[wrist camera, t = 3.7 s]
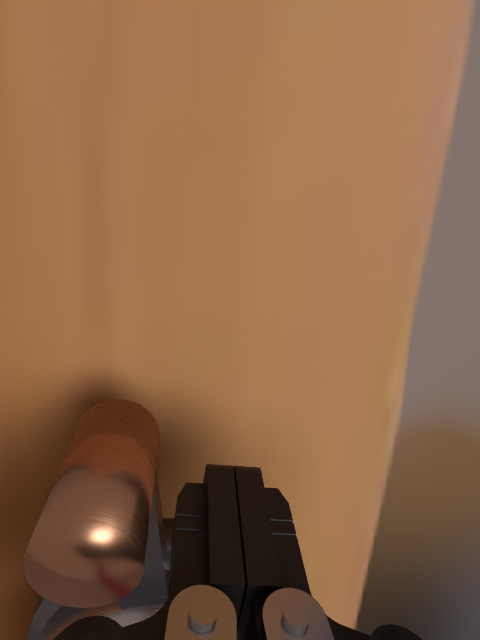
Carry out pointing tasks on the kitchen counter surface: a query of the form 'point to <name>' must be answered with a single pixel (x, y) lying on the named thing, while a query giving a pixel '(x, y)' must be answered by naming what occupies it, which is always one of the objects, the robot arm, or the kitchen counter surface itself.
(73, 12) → the kitchen counter surface
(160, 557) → the crank handle
